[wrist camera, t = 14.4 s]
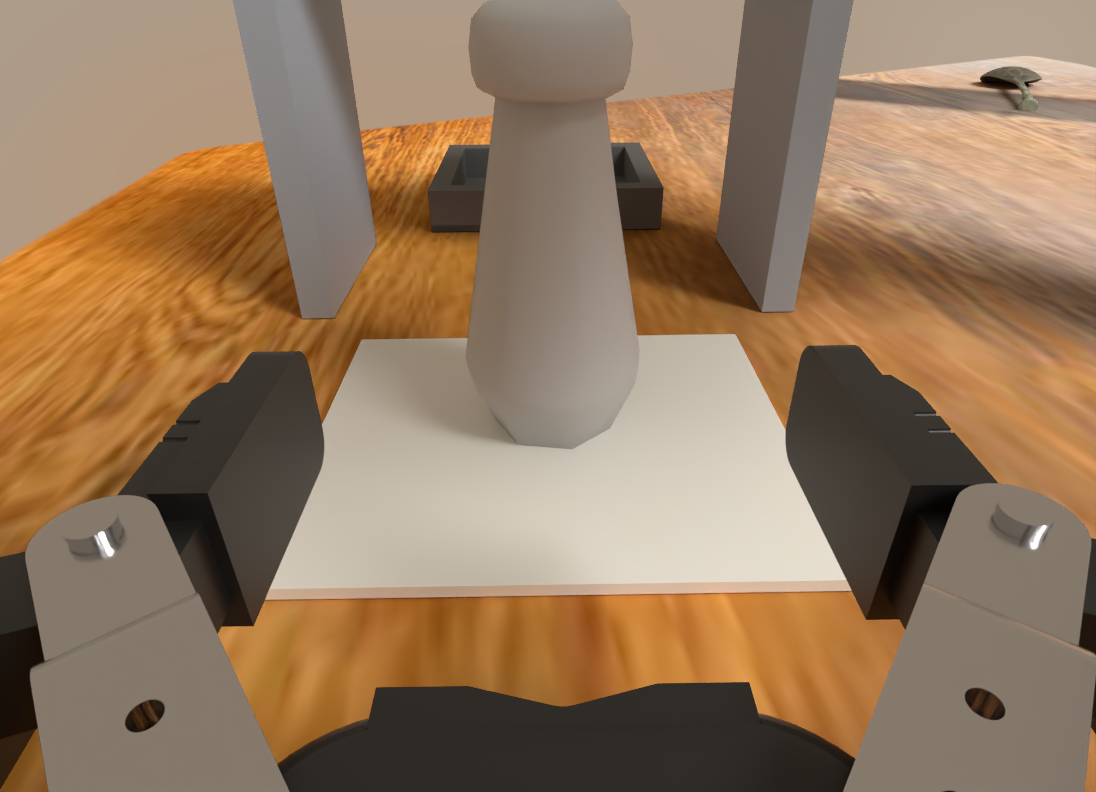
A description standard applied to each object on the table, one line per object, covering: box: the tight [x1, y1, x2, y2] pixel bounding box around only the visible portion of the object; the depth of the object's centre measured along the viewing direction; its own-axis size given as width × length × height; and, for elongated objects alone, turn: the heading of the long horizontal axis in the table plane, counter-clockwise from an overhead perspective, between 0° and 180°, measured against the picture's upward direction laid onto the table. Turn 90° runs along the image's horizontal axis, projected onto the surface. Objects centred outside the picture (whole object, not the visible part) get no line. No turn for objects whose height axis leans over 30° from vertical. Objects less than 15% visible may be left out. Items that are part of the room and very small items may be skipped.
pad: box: [265, 334, 852, 600], centre depth 24 cm, size 16×14×1 cm
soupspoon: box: [980, 67, 1042, 111], centre depth 82 cm, size 22×3×7 cm
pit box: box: [428, 143, 663, 232], centre depth 47 cm, size 14×12×2 cm
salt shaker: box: [465, 0, 640, 449], centre depth 21 cm, size 6×6×13 cm
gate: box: [233, 0, 853, 319], centre depth 32 cm, size 23×10×20 cm, turn 91°
